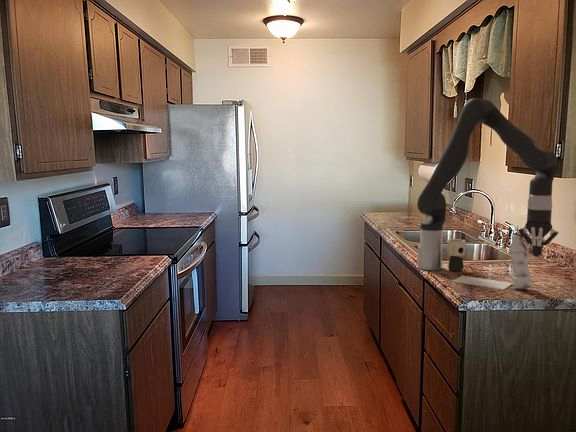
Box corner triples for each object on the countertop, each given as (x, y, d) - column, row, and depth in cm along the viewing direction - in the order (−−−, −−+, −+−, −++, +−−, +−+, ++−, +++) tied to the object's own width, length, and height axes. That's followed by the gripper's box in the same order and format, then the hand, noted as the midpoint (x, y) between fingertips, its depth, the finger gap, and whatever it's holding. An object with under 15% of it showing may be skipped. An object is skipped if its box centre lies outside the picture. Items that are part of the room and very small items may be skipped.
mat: (452, 281, 186) (452, 280, 186) (462, 276, 193) (462, 275, 193) (503, 290, 173) (504, 289, 173) (512, 284, 181) (512, 283, 181)
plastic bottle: (509, 290, 174) (504, 236, 173) (517, 286, 178) (511, 233, 178) (528, 291, 169) (522, 235, 168) (535, 287, 174) (529, 232, 173)
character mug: (457, 274, 197) (458, 243, 195) (441, 271, 202) (442, 241, 200) (469, 269, 204) (470, 239, 202) (454, 266, 209) (455, 237, 208)
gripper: (516, 207, 169) (513, 255, 171) (558, 210, 160) (555, 260, 162) (522, 205, 174) (519, 252, 177) (563, 208, 166) (560, 256, 168)
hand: (536, 256), depth 169 cm, fingers closed
